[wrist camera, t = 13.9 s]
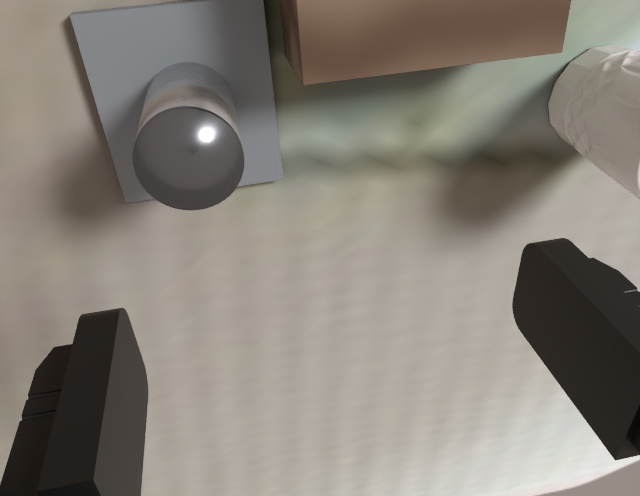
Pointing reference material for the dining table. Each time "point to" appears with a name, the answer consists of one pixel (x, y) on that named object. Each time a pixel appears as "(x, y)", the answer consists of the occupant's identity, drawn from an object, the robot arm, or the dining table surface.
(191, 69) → the shiny metal cylinder
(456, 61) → the housing
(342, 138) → the dining table surface
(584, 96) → the white cup
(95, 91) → the mat
